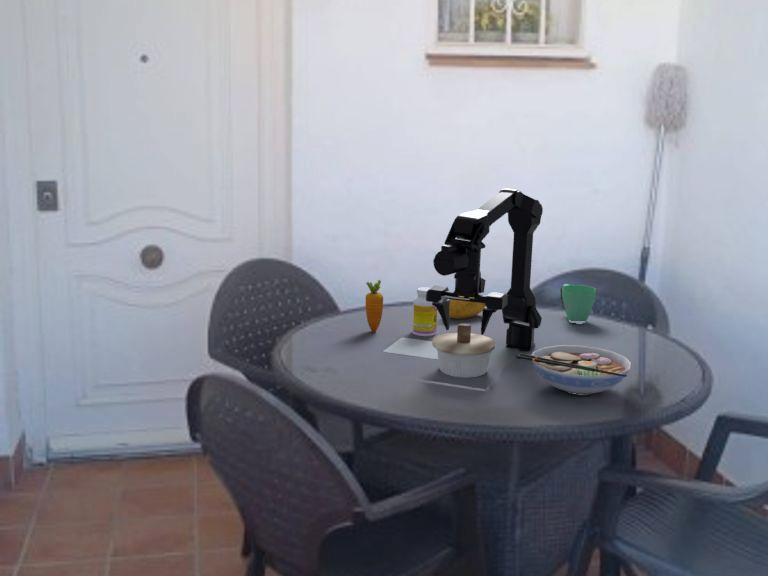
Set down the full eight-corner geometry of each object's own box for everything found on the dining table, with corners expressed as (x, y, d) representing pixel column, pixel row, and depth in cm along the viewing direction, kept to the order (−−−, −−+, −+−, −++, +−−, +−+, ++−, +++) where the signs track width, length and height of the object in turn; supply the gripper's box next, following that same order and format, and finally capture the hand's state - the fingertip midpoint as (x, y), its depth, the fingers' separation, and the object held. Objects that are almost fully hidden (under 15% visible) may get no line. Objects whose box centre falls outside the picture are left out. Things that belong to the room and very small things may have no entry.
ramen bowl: (645, 386, 217) (648, 353, 215) (616, 416, 198) (619, 380, 196) (545, 367, 229) (547, 335, 227) (508, 393, 210) (510, 359, 208)
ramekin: (446, 383, 217) (447, 354, 215) (428, 365, 229) (429, 338, 227) (498, 379, 220) (500, 351, 218) (478, 362, 232) (479, 335, 231)
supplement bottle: (436, 338, 251) (438, 292, 248) (412, 337, 251) (413, 291, 248) (435, 331, 258) (437, 286, 255) (412, 330, 258) (413, 285, 255)
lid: (502, 341, 226) (503, 322, 225) (483, 358, 213) (484, 337, 212) (445, 333, 232) (446, 314, 231) (422, 349, 219) (423, 328, 218)
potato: (491, 318, 273) (493, 294, 271) (450, 323, 266) (451, 299, 265) (478, 312, 279) (479, 289, 278) (437, 317, 273) (438, 293, 271)
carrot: (362, 334, 253) (363, 281, 249) (367, 329, 258) (368, 277, 254) (380, 336, 252) (381, 282, 248) (384, 331, 256) (385, 278, 253)
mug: (600, 325, 267) (603, 292, 265) (570, 327, 265) (572, 293, 262) (575, 312, 281) (578, 280, 279) (546, 314, 278) (548, 282, 276)
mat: (465, 347, 243) (465, 346, 243) (449, 363, 231) (449, 361, 231) (401, 339, 250) (401, 337, 250) (382, 353, 237) (382, 351, 237)
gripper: (514, 266, 222) (511, 328, 226) (440, 258, 229) (438, 319, 233) (503, 275, 212) (499, 340, 216) (426, 267, 219) (424, 330, 223)
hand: (465, 332), depth 222 cm, fingers open, 8 cm apart
